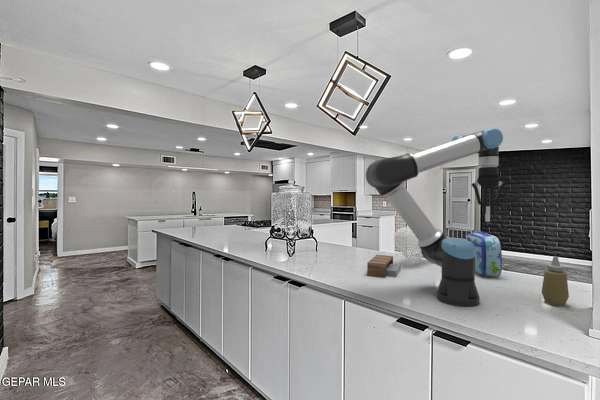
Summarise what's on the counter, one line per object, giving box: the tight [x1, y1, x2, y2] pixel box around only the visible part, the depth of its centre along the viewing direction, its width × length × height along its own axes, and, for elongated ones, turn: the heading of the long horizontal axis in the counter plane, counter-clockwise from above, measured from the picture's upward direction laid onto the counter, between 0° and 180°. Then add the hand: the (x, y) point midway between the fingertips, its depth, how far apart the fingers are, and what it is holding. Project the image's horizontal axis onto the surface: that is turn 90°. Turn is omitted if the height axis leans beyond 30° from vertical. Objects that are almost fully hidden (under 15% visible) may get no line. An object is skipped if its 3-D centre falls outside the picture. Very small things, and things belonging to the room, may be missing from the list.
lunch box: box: [465, 230, 503, 277], centre depth 165 cm, size 26×11×21 cm, turn 168°
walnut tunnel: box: [366, 254, 394, 279], centre depth 167 cm, size 22×9×7 cm, turn 154°
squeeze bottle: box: [541, 255, 570, 307], centre depth 119 cm, size 8×8×18 cm
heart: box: [394, 226, 424, 265], centre depth 184 cm, size 28×16×22 cm, turn 131°
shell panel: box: [386, 263, 402, 278], centre depth 166 cm, size 15×12×4 cm
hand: (487, 221), depth 138 cm, fingers closed
